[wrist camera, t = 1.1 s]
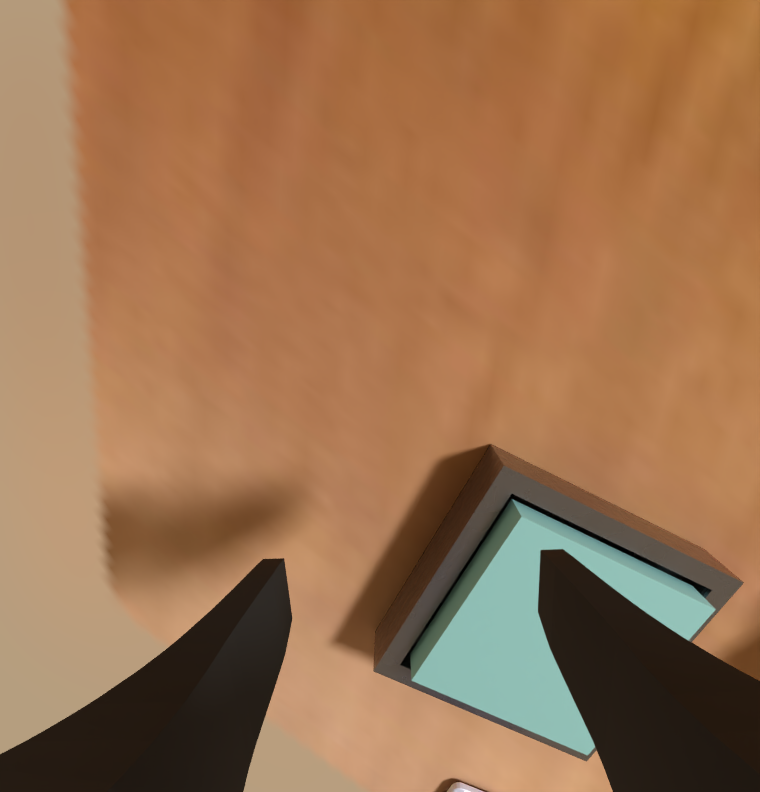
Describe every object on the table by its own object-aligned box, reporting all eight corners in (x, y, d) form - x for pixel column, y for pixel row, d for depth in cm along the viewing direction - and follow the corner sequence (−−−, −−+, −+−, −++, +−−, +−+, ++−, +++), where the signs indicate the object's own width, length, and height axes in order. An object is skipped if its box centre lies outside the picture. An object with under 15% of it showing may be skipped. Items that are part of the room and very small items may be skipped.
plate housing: (567, 714, 25) (586, 761, 22) (375, 631, 24) (373, 671, 21) (704, 549, 22) (743, 582, 19) (490, 444, 20) (504, 465, 18)
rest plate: (574, 724, 22) (587, 755, 21) (410, 653, 21) (411, 680, 20) (692, 585, 20) (716, 609, 18) (511, 498, 19) (521, 516, 17)
